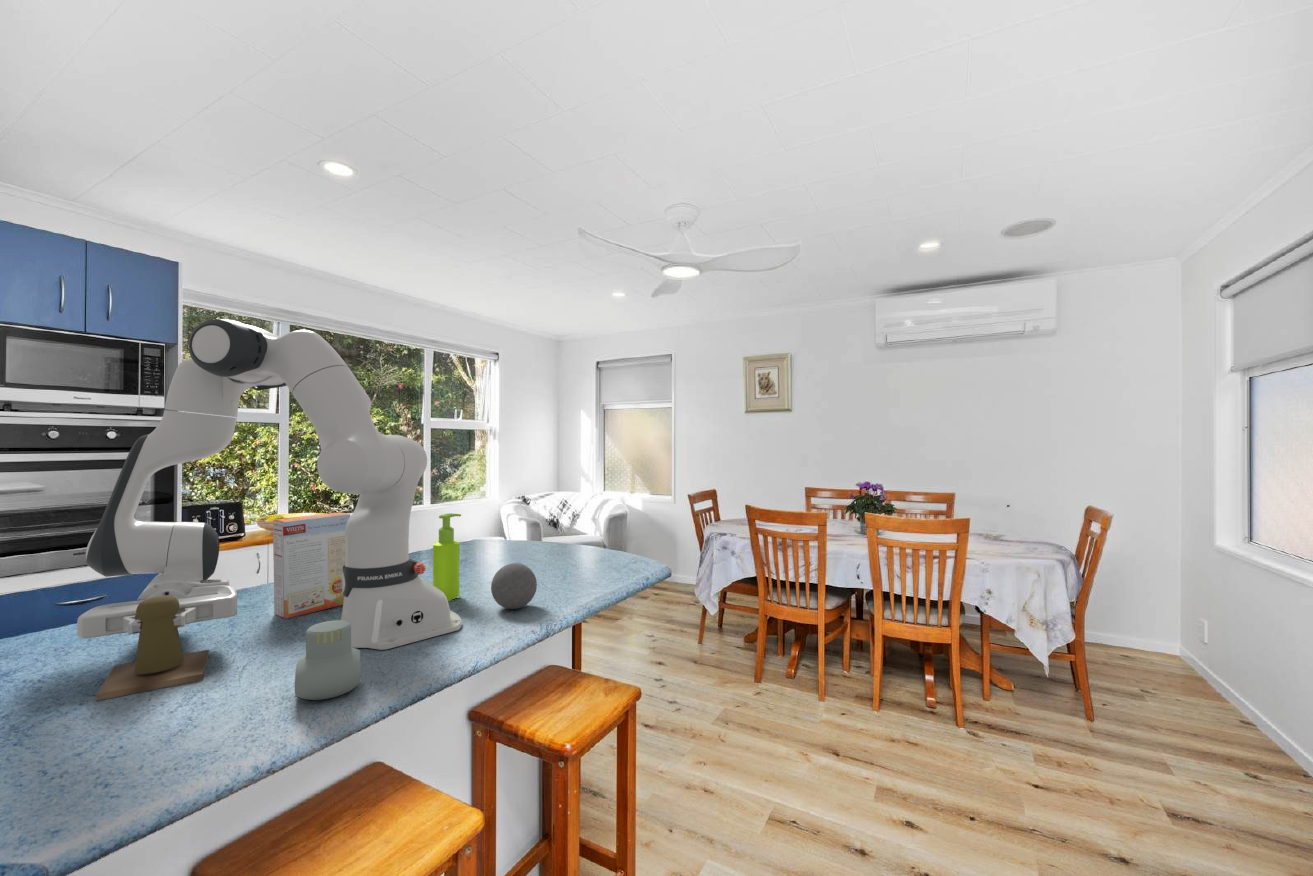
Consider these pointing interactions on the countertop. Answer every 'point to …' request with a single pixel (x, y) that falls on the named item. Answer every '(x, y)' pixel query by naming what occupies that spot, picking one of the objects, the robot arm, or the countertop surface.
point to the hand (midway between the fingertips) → (157, 625)
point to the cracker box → (308, 563)
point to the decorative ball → (514, 586)
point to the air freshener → (327, 662)
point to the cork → (158, 636)
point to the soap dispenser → (446, 560)
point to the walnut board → (153, 677)
